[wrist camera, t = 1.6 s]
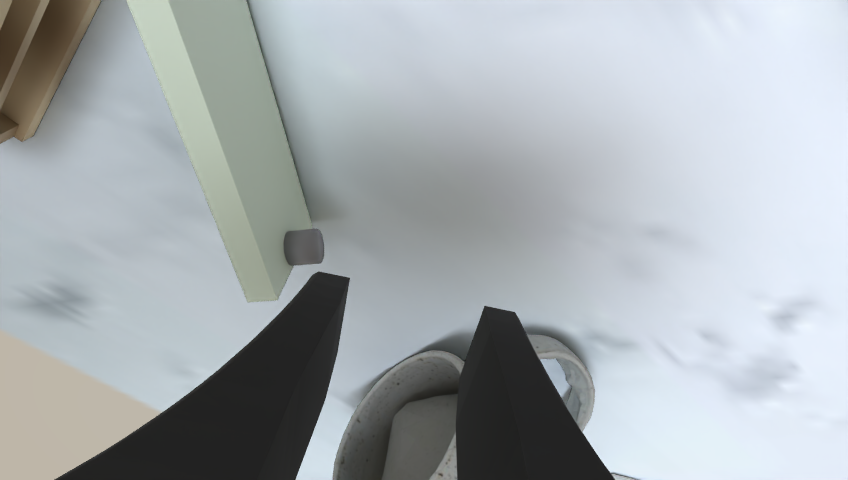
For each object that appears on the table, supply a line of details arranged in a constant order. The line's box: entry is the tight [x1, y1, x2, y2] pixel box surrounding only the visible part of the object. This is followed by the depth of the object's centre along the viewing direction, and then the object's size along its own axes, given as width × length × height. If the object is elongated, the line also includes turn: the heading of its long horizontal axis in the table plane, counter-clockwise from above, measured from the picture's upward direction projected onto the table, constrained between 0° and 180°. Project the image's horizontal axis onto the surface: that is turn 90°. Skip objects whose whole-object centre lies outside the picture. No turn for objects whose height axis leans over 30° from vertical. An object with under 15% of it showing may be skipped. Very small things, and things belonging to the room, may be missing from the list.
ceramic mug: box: [333, 335, 595, 480], centre depth 23 cm, size 11×8×8 cm
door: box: [126, 0, 324, 302], centre depth 16 cm, size 10×2×5 cm, turn 8°
